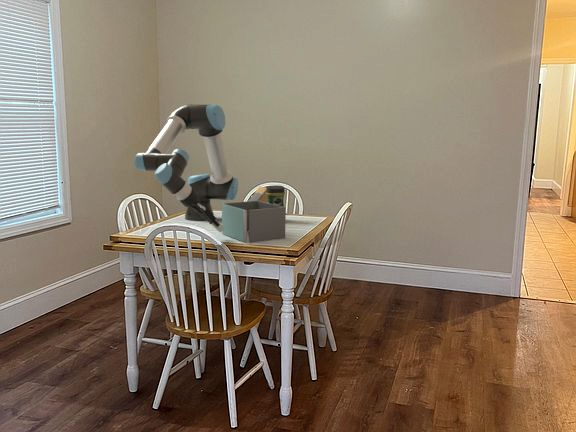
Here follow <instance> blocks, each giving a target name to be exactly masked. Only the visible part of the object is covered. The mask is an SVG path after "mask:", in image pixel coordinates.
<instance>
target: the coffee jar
mask: <svg viewBox="0 0 576 432" xmlns="http://www.w3.org/2000/svg"><path fill="white" fill-rule="evenodd" d="M265 188H266V195H267V203H270V204H274V205H278V206H282V207H285V204H284V197H285V193H286V191H285V186H283V185H276V184H275V185H267V186H266V187H265Z"/></svg>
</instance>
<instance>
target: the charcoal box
mask: <svg viewBox="0 0 576 432" xmlns="http://www.w3.org/2000/svg"><path fill="white" fill-rule="evenodd" d="M223 204H226V205H229V206H233V207H237V208H240V209H244V210H247V232H248V243H249V244H252V243H260V242H269V241H277V240H285V239H286V220H287V219H286V217H287V216H286V215H287V214H286V213H287V212H286V211H287V210H286V209H287V207H286V206H284V207H282V206H278V205H274V204H270V203H266V202H261V201H237V202H223Z"/></svg>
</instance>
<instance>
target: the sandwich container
mask: <svg viewBox="0 0 576 432" xmlns="http://www.w3.org/2000/svg"><path fill="white" fill-rule="evenodd" d="M266 188H267V187H265V186H258V187H257V189H256V190H255V191H254V192H253V194H252V196H251V197H250V198H249V199H248V201H261V202H266V203H267V195H266Z"/></svg>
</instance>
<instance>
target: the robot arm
mask: <svg viewBox="0 0 576 432" xmlns="http://www.w3.org/2000/svg"><path fill="white" fill-rule="evenodd" d="M225 126H226V115H225V112H224V110H223V107H222V106H220V105H218V104H213V103H209V104H194V103H193V104H192V103H191V104H185V105H182V106H180V107H179V108H177V109H176V110H174V111H173V112H171V114H170V115H168V117H167V119H166V122H165V125H164V127H163V128H162V129H161V130H160V132H159V133H158V135H157V136H156V138H155V139H154V140H153V142H152V143H151V145H150V146H149V147H148V149H147V150H146V151H145V152H138V153H137V154H136V155H135V157H134V165H135V167H136V169H137V170H139V171H144V172H154V178H155V179H156V180H157V181H158V182H159V183H160V185H162V186H163V187H164V188H165V189H166V190H168V192H169V193H170V194H171V195H173V198H174V199H177V200H178V201H179V202H180V204H182V205H183V206H184V207H186V210H185V214H184V219H185V220H189V221H205V222H206V221H207V222H208V224H209V225H211V226H212V227H213V228H215V230H216V231H218V233H221V234H222V231H223V230H224V227H223V226H222V223H220V222H219V221H218V220H217V217H216V216H215V214H214V210H213V207H212V205H211V200H219V201H221V200H223V201H224V200H225V201H231V200H234V199H235V198H236V196H237V194H238V189H239V180H238V178H237V177H235V176H234V175H233V173H232V172H231V171H230V170H229V167H228V163H227V157H226V152H225V149H224V143H223V138H222V132H223V130H224V129H225ZM187 130H198V133H199V134H198V135H199V136H200V137H202V138H203V143H204V145H205V149H206V153H207V154H206V155H207V159H208V163H209V168H210V172H211V174H210V173H205V174H204V173H203V174H195V175H191V176H189V177H188V178H187V181H186V180H185V179H184V178H183V177H182V175H183V173H184V171H185V169H186V167H187V166H188V162H189V160H190V156H189V154H188V152H187V151H186V150H185V149H182V148H176V149H174V150H173V151H172V152H171V153H168V152H169V151H170V149H171V148H172V147H173V145H174V143H175V142H176V140H177V139H178V138H179V136H180V134H183V133H185V132H186V131H187Z"/></svg>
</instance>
